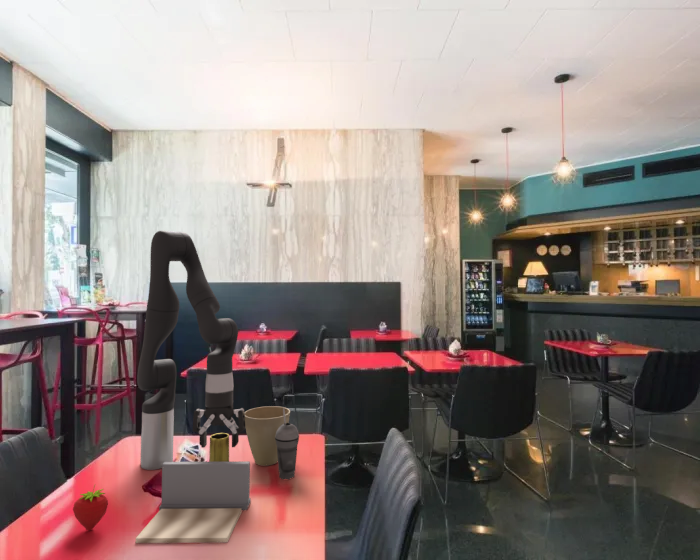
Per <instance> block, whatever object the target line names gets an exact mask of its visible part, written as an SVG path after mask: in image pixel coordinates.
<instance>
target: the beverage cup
mask: <svg viewBox="0 0 700 560" xmlns="http://www.w3.org/2000/svg"><path fill="white" fill-rule="evenodd" d="M283 415H284V424H282V425H281V426H280V427H279V428H278V430H277V432H276V436H275V440H276V445H277V456H278V462H277V466H278V467H277V469H278V475H279V476H278V477H279V479H280V478H281V480H284V479H288V480H291V479H290V478H292V477H293V478H294V477H295V474H296V473H295V472H296V468H297V467H296V465H297V454H298V445H299V440H300V435H299V430H298V428H297V426H296V425H295V424H292V422H289V423H286V419H285V409H283ZM293 478H292V479H293Z"/></svg>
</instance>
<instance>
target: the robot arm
mask: <svg viewBox="0 0 700 560" xmlns="http://www.w3.org/2000/svg"><path fill="white" fill-rule="evenodd" d="M149 258H150V263H149V264H150V267H149V268H150V271H149V276H150V277H149V286H148V287H149V288H148V296H147V297H148V298H147V303H146V313H145V323H144V332H143V333H144V334H143V342H142V346H141V347H142V348H141V351H140V352H141V353H140V358H139V363H138V367H137V376H136V379H137V386H138V389H139V390H141V391H145V392H146V391H147V392H148V391H153V390H159V391H158V392H157V393H156V394H155V395H154V396H152V397H150V398H149V399H147V400H145V401H144V402H143V403H142V405H141V411H142V412H141V433H140V467H141V469H143V470H147V471H151V470H154V471H155V470H160V469H162V464H163V463H164V462H174V427H175V426H174V425H175V424H174V423H175V421H174V419H175V418H174V417H175V416H174V415H175V411H174V410H175V407H174V406H175V399H176V386H177V374H178V373H177V365H176V363H175V361H174V360H173V359H171V358H164V359H156V358H157V357H156V356H157V353H158V351H159V350H160V347H161V346H162V344H163V343H164V342H165V341H166V340H167V338H168V337H169V336H170V334H171V333H172V332H173V331H174V329H175V328H176V326H177V323H178V320H179V314H180V313H179V311H180V300H179V297H178V295H177V293H176V291H175V289H174V286H173V285H172V282H171V279H170V263H171V262H180V263H181V264H182V265H183V267H184V268H185V271H186V274H187V275H186V283H185V284H186V285H185V293H186V297H187V299H188V302H189V303H190V305H191V307H192V308H193V311H194V312H195V315H196V321H197V324H198V330H199V331H198V332H199V334H200V336H201V338H202V339H203V340H204V341H205V342H206V343H207V344H209V345H210V344H211V345H215V344H216V346H215V349H214V350H213V351H212V352H210V353H208V354H207V356H206V378H205V400H204V401H205V409H201V408H196V410H194V411H193V420H192V432H193V433H198V434H199V443H198V444H199V446H201V448H206V447H207V446H208V445H207V443H208V442H207V441H208V440H207V439H208V435H207V434H208V432H207V430H208V429H209V427H210V426H211V425H212V426H213V427H216V426H221V427H223V426H226V427H227V428H228V429H230V431H231V448H236V446H237V445H238V444H239V435H240V434H239V433H242V432H243V431H244V430H246V427H245V412H246V411H245V410H246V409H245V408H244V407H241V408H238V409H235V408H234V385H235V384H234V376H233V356H234V353H235V351H236V346H237V342H238V338H239V337H238V335H239V330H238V325H237V323H236V322H235V320H233V319H232V318H228V317H227V318H226V317H225V318H217V316H216V314H217V313H218V312H219V311H220V308H221V305H220V302H219V301H218V298H217V297H216V295H215V293H214V291H213V290H212V288H211V286H210V283H209V282H208V279H207V277H206V275H205V272H204V269H203V266H202V262H201V260H200V257H199V255H198V251H197V248H196V245H195V243H194V241H193V239H192V237H191V236H190V235H189V234H188V233H187V232H183V231H170V230H157V231H156V232H155V233H154V235H153V236H152V239H151V244H150V257H149ZM234 415H235V417H236V418H238V425H237V423H236V421H235V419H234V418H233V417H234ZM203 416H204V417H205V418H206V421H205V422H204V423H203V425H202V426H201V419H202V417H203Z"/></svg>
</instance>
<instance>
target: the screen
mask: <svg viewBox="0 0 700 560" xmlns="http://www.w3.org/2000/svg"><path fill="white" fill-rule="evenodd" d="M250 468H251V461H229V462H209V461H173V462H164V463H163V464H162V468H161V470H162V471H161V504H160V505H159V506H158V512H159V511H160V510H161V509H214V508H242V509H241V511H248V508H249V506H250V504H251V502H252V501H251V497H250V493H251V492H250V483H251V482H250V477H251V475H250V474H251V473H250V472H251V471H250V470H251V469H250Z"/></svg>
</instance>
